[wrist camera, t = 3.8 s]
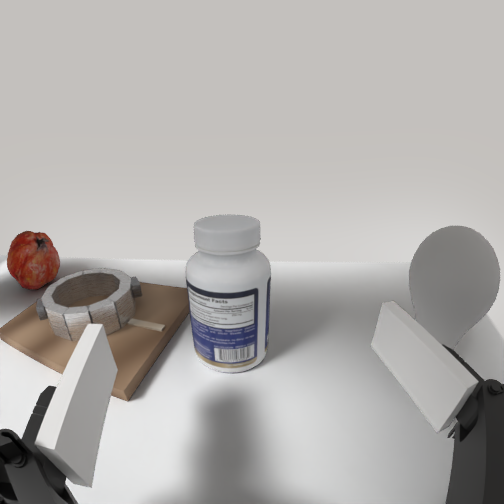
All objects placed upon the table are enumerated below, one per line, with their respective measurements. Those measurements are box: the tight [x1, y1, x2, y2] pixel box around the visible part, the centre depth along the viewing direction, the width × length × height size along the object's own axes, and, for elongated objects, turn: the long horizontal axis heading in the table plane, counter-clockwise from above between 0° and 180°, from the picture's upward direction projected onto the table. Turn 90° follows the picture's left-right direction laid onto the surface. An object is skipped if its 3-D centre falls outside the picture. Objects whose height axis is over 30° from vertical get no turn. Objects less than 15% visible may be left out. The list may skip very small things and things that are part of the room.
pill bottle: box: [186, 215, 271, 373], centre depth 19 cm, size 5×5×10 cm
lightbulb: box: [409, 226, 500, 350], centre depth 14 cm, size 6×6×11 cm
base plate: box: [0, 282, 190, 401], centre depth 22 cm, size 16×14×1 cm
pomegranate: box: [7, 231, 60, 289], centre depth 27 cm, size 7×7×10 cm
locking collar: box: [36, 268, 142, 341], centre depth 22 cm, size 8×8×2 cm
